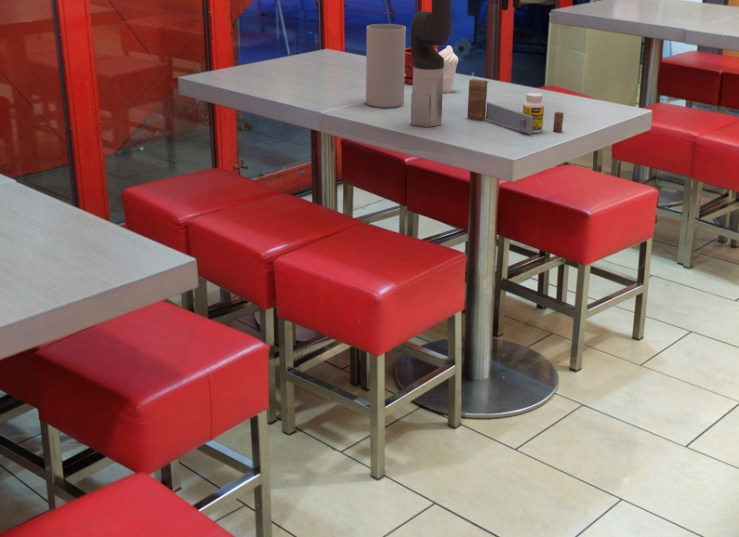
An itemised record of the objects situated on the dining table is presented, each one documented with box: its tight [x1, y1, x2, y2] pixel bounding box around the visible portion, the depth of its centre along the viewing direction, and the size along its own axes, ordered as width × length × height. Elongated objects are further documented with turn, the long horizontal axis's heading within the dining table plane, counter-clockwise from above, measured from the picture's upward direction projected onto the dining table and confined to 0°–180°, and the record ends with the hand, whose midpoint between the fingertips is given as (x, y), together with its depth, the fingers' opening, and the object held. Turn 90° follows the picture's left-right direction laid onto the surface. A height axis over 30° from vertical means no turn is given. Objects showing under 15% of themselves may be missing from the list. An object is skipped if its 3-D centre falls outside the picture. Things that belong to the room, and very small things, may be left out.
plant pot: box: [404, 47, 439, 85], centre depth 358 cm, size 13×13×12 cm
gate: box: [485, 101, 533, 135], centre depth 299 cm, size 2×21×5 cm, turn 31°
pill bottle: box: [522, 92, 545, 134], centre depth 295 cm, size 6×6×11 cm
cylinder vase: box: [365, 23, 407, 109], centre depth 323 cm, size 12×12×25 cm
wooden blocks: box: [466, 78, 564, 133], centre depth 302 cm, size 2×30×12 cm, turn 58°
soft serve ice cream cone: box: [438, 45, 459, 94], centre depth 344 cm, size 8×8×16 cm
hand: (510, 8), depth 310 cm, fingers open, 8 cm apart
